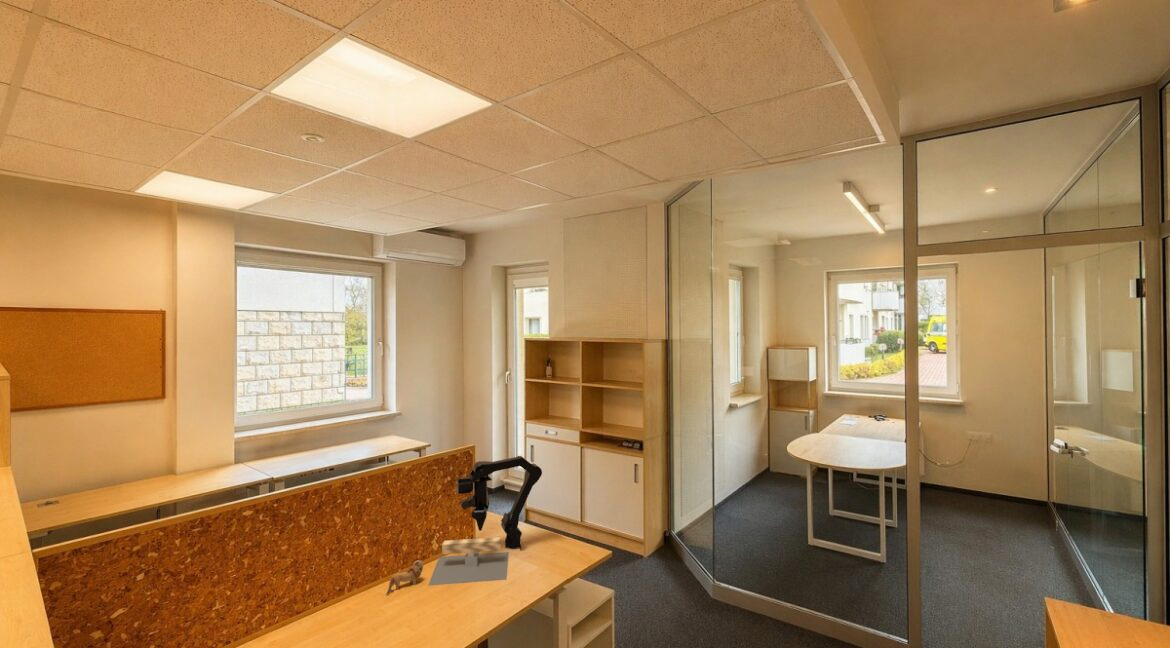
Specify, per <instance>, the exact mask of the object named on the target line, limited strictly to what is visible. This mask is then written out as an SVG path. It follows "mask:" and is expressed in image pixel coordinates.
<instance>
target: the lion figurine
mask: <svg viewBox="0 0 1170 648" xmlns="http://www.w3.org/2000/svg"><path fill="white" fill-rule="evenodd" d="M412 564H413V565H412V566H411V567H410V568H409V570H407V571H404V572H396V573H395V574H393V575H392V576H391V578H390V580H389V583H388V590H387V592H386V595H389V593H392V592H393V589H392V587H393V586H394V585H395V591H398V590H399V588H400V584H401V583H408V582H409V584H412V585H413V586H415V585H416V584H417V579H418V578H420V577H421V575H422V572H423V569H424V563H423V560H419V559H418V560H415V561H414V562H412Z"/></svg>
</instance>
